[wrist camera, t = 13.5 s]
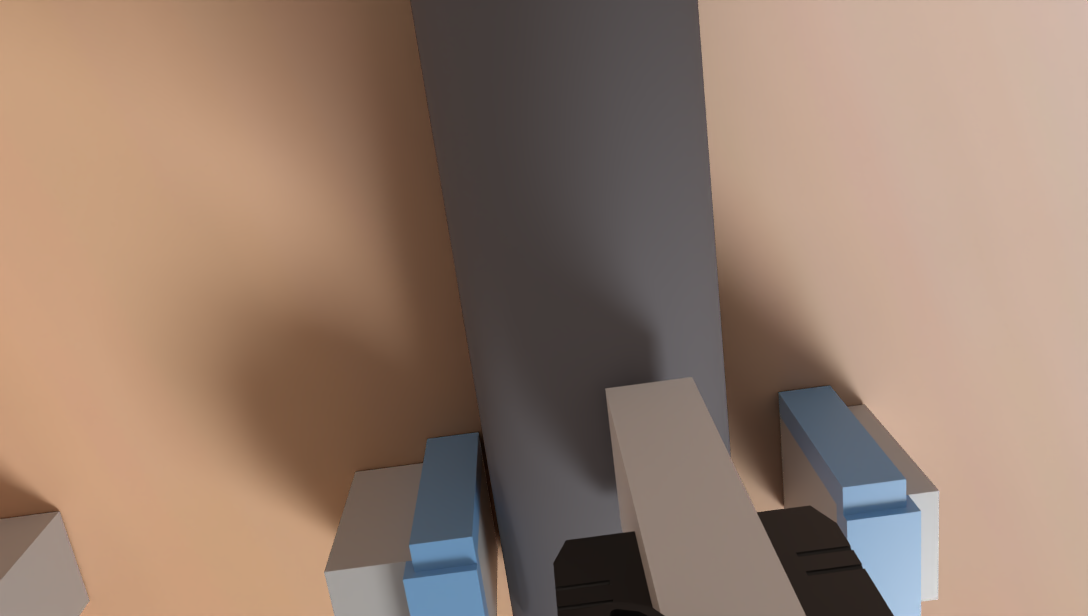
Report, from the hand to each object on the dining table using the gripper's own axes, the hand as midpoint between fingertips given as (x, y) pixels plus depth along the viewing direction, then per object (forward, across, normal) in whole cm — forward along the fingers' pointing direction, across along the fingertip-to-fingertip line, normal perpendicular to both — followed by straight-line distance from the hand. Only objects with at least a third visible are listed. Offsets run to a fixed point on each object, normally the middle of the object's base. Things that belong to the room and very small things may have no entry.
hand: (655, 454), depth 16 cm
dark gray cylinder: (+5, +1, -3) cm, 6 cm away
